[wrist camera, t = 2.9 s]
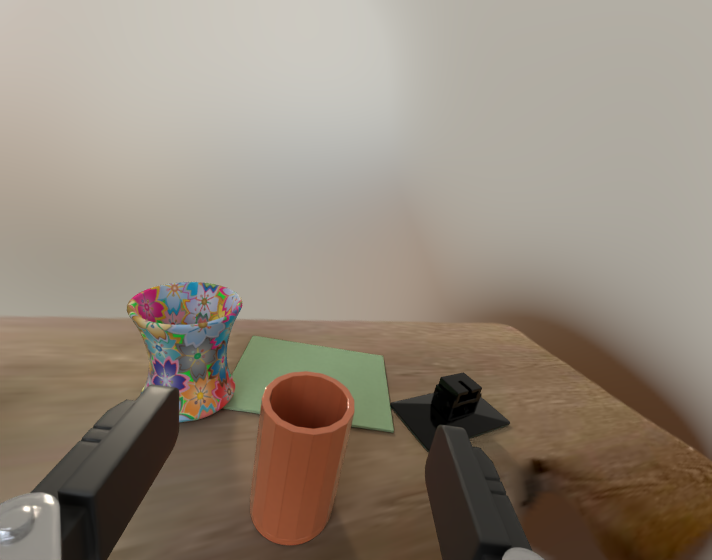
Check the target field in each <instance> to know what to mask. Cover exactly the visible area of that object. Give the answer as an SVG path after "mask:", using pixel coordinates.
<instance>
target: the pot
mask: <svg viewBox="0 0 712 560" xmlns="http://www.w3.org/2000/svg"><path fill="white" fill-rule="evenodd" d="M354 412H355V405H354V398H353V397H352V395H351V393H350V391H349V390H348V388H347V387H345V386H344V385H343V384H342V383H340V382H339V381H338V380H336V379H334V378H332V377H329V376H327V375H324V374H322V373H315V372H309V371H303V372H291V373H288V374H285V375H283V376H280V377H277V378H276V379H274V380H273V381H272V382H271V383H270V384H269V385H268V386H267V387H266V388H265V391H264V394H263V396H262V400H261V409H260V418H259V426H258V435H257V444H256V453H255V461H254V470H253V479H252V487H251V496H250V514H251V518H252V521H253V524H254V525H255V527H256V529H257V530H258V531H259V533H260V534H262V535H263V536H264V537H265V538H266V539H268V540H270V541H272V542H274V543H277V544H281V545H290V546H291V545H298V544H303V543H305V542H308V541H310V540H311V539H313V538H315V537H316V536H317V535H318V534H319V533H320V532H321V531H322V530H323V529H324V528H325V526H326V524H327V523H328V521H329V518H330V515H331V512H332V509H333V505H334V500H335V496H336V491H337V487H338V483H339V478H340V474H341V469H342V465H343V461H344V456H345V452H346V447H347V443H348V439H349V434H350V430H351V425H352V421H353V417H354Z"/></svg>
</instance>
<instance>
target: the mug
mask: <svg viewBox="0 0 712 560" xmlns="http://www.w3.org/2000/svg"><path fill="white" fill-rule="evenodd" d="M241 308H242V300H241V298H240V296H239V295H238V294H237V293H235V292H234V291H232V290H230V289H228V288H225V287H222V286H219V285H215V284H209V283H198V282H184V283H172V284H165V285H160V286H157V287H153V288H150V289H147V290H145V291H142V292H140V293H139V294H137V295H135V296H134V297H133V298H132V299H131V300H130V301H129V303H128V305H127V312H128V314H129V316H130V318H131V319H132V320H133V322H134V323H135V325H136V326H137V328H138V330H139V331H140V333H141V335H142V338H143V340H144V342H145V345H146V348H147V353H148V358H149V373H148V378H147V382H146V384H145V386H144V388H143V390H142V392H141V394H142V393H143V391H144V390H145V389H146V388H147V387H148V386H149V385H151V384H154V385H161V386H168V387H176V388H178V389H179V422H188V421H194V420H198V419H202V418H205V417H207V416H209V415H212V414H214V413H215V412H217V411H219V410H220V409H221V408H223V407H224V406H225V405H226V404H227V403H228V402H229V401H230V400H231V398H232V396H233V394H234V391H235V381H234V379H233V377H232V375H231V374H230V372H229V369H228V365H227V344H228V339H229V335H230V332H231V329H232V326H233V324H234V321H235V319H236V317H237V315H238V313H239V312H240V310H241Z"/></svg>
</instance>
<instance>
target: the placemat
mask: <svg viewBox="0 0 712 560" xmlns="http://www.w3.org/2000/svg"><path fill="white" fill-rule="evenodd" d="M303 371H309V372H315V373H322V374H324V375H327V376H329V377H332V378H334V379H336V380H338V381H339V382H340V383H342V384H343V385H344V386H345V387H347V388H348V390H349V391H350V393H351V395H352V397H353V398H354V405H355V412H354V417H353V421H352V425H351V427H357V428H364V429H371V430H378V431H385V432H392V433H393V431H394V429H393V422H392V415H391V408H390V401H389V395H388V388H387V381H386V374H385V367H384V360H383V356H380V355H374V354H368V353H361V352H355V351H348V350H342V349H336V348H329V347H323V346H316V345H310V344H304V343H297V342H291V341H285V340H278V339H272V338H265V337H259V336H252V338H251V340H250V342H249V344H248V346H247V348H246V349H245V351H244V353H243V355H242V357H241V359H240V361H239V363H238V365H237V366H236V368H235V370H234V372H233V374H232V377H233V379H234V381H235V391H234V394H233V396H232V398H231V400H230V401H229V402H228V403H227V404H226V405H225V406H224V407H223V408H222V409H229V410H236V411H243V412H250V413H258V414H260V409H261V400H262V396H263V394H264V391H265V388H266V387H267V386H268V385H269V384H270V383H271V382H272V381H273V380H274V379H276V378H277V377H280V376H283V375H285V374H288V373H291V372H303Z"/></svg>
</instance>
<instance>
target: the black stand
mask: <svg viewBox="0 0 712 560" xmlns="http://www.w3.org/2000/svg"><path fill="white" fill-rule="evenodd" d="M481 390H482V387H480V386H479V385H478V384H477V383H476V382H474V381H473V380H472V379H471V378H470V377H468V376H467V375H466V374H465V373H459V374H454V375H450V376H445V377H441V378H440V381H439V384H437V385H436V388H435V391H434V393H431V394H427V395H423V396H418V397H414V398H410V399H406V400H401V401H396V402H393V403H391V405H390V407H391V408H392V409H393V411H394V412H395V413H396V414H397V415H398V417H399V418H400V419H401V420H402V421H403V423H404V424H405V425H406V426H407V428H408V429H409V430H410V431H411V432H412V434H413V435H414V436H415V437H416V438H417V440H418V441H419V442H420V443H421V445H422V446H423V447H424V448H425V449H426V451H427V452H429V451H430V448H431V445H432V442H433V439H434V435H435V432H436V429H437V427H438V426H439V425H446V426H454V427H461V428H464V429H465V430H466V433H467V435H468V437H469V439H470V438H473V437H476V436H479V435H482V434H485V433H488V432H491V431H494V430H496V429H499V428H502V427H505V426H508V425H509V424H510V422H509V421H508V420H507V419H506V418H505V417H504V416H503V415H501V414H500V413H499V412H498V411H497V410H496V409H494V408H493V407H492V406H491V405H490V404H489V403H487V402H486V401H485V400H484V399H483V398H482V397H481V393H480V392H481Z"/></svg>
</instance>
